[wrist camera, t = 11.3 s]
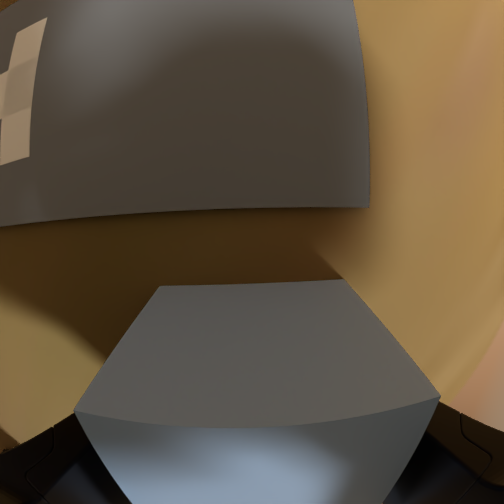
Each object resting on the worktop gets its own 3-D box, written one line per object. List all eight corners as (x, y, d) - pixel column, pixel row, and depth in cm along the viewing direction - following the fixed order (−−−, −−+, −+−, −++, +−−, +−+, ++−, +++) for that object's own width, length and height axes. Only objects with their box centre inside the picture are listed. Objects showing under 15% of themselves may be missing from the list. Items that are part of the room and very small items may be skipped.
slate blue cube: (327, 409, 9) (363, 528, 4) (185, 415, 9) (160, 536, 4) (343, 278, 8) (440, 396, 3) (160, 284, 8) (73, 409, 3)
